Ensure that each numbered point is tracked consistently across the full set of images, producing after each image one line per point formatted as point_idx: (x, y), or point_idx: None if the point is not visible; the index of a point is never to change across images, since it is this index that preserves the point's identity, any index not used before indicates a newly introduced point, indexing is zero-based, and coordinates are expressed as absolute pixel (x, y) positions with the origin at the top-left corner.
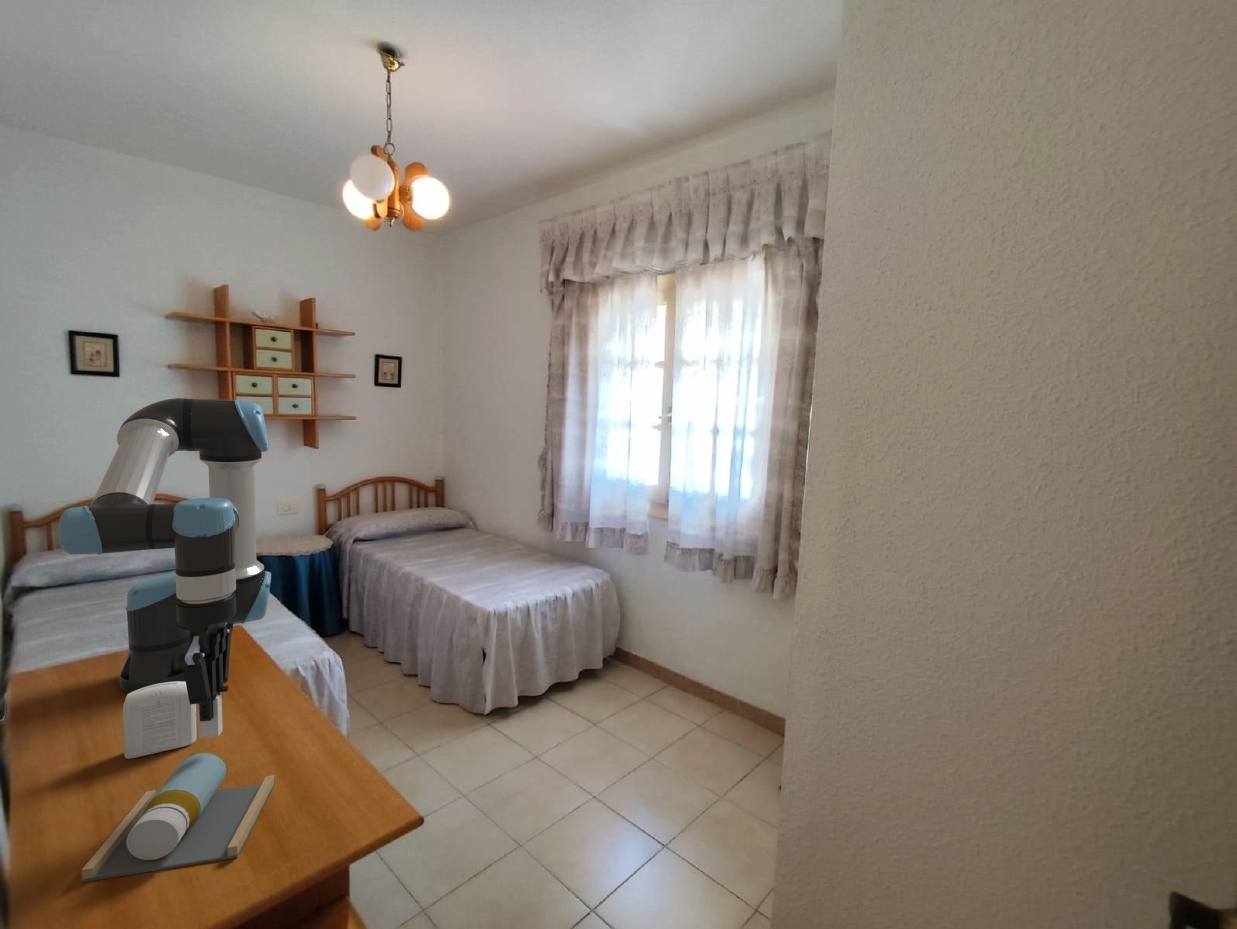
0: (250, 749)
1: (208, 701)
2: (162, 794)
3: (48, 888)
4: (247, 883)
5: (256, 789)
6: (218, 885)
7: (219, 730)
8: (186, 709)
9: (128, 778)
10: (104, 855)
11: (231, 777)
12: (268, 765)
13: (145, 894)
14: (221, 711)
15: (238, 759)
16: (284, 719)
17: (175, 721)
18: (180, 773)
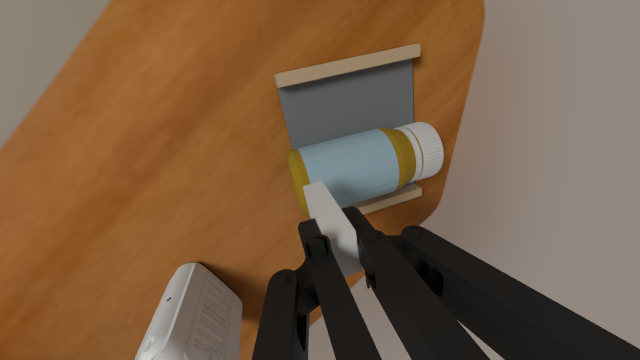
0: (187, 173)
1: (416, 228)
2: (403, 179)
3: (414, 211)
4: (449, 5)
5: (290, 96)
6: (444, 44)
7: (319, 185)
8: (185, 315)
9: (273, 272)
10: (404, 192)
11: (260, 156)
12: (224, 115)
13: (438, 120)
14: (316, 208)
15: (217, 174)
16: (73, 172)
17: (202, 306)
18: (362, 189)
